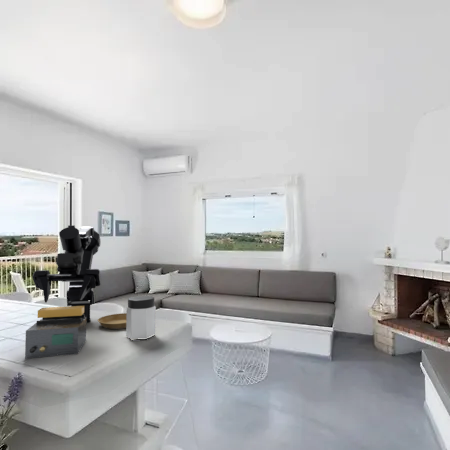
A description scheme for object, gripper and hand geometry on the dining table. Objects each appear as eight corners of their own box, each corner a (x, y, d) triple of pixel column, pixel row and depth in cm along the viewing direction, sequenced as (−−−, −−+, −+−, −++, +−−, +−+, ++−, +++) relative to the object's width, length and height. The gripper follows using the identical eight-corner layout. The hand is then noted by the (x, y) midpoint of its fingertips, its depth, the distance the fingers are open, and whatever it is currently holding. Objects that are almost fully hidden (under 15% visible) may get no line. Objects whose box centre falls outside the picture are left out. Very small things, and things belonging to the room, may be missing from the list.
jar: (156, 332, 103) (157, 295, 104) (153, 340, 95) (154, 300, 96) (128, 333, 102) (129, 295, 103) (123, 341, 94) (123, 300, 95)
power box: (40, 343, 92) (41, 316, 93) (86, 340, 95) (86, 314, 96) (23, 360, 80) (24, 328, 80) (76, 355, 83) (77, 325, 83)
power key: (42, 314, 92) (42, 307, 92) (84, 312, 95) (84, 305, 95) (37, 317, 88) (37, 310, 88) (81, 315, 91) (81, 308, 91)
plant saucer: (116, 333, 103) (116, 325, 103) (88, 327, 111) (89, 319, 111) (149, 323, 115) (149, 316, 115) (123, 318, 123) (123, 311, 123)
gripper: (35, 244, 96) (20, 285, 85) (100, 243, 101) (94, 282, 90) (42, 268, 104) (29, 308, 92) (103, 266, 108) (97, 305, 97)
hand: (62, 300), depth 92 cm, fingers open, 9 cm apart
